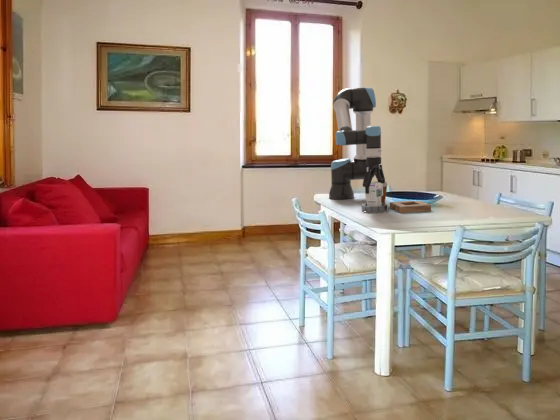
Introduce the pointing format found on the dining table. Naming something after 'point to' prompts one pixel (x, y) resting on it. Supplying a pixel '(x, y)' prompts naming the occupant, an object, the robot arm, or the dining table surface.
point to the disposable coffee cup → (384, 191)
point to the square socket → (410, 206)
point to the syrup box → (375, 194)
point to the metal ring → (374, 208)
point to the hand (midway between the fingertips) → (374, 197)
